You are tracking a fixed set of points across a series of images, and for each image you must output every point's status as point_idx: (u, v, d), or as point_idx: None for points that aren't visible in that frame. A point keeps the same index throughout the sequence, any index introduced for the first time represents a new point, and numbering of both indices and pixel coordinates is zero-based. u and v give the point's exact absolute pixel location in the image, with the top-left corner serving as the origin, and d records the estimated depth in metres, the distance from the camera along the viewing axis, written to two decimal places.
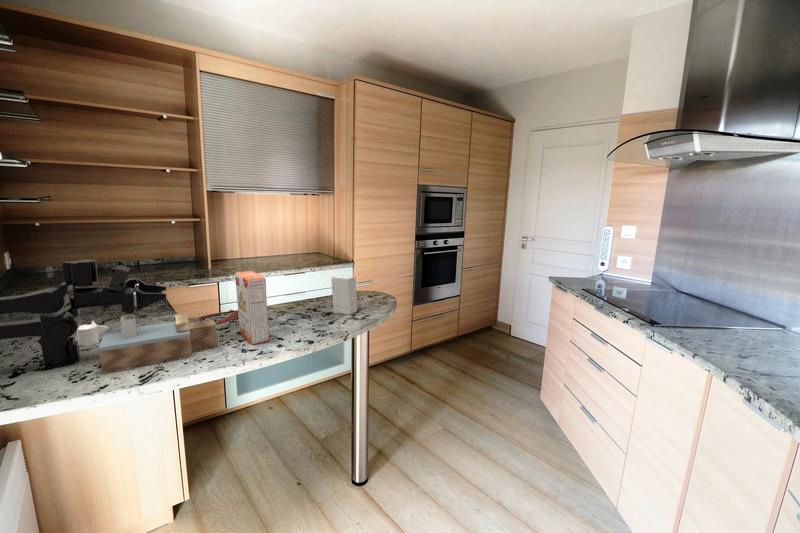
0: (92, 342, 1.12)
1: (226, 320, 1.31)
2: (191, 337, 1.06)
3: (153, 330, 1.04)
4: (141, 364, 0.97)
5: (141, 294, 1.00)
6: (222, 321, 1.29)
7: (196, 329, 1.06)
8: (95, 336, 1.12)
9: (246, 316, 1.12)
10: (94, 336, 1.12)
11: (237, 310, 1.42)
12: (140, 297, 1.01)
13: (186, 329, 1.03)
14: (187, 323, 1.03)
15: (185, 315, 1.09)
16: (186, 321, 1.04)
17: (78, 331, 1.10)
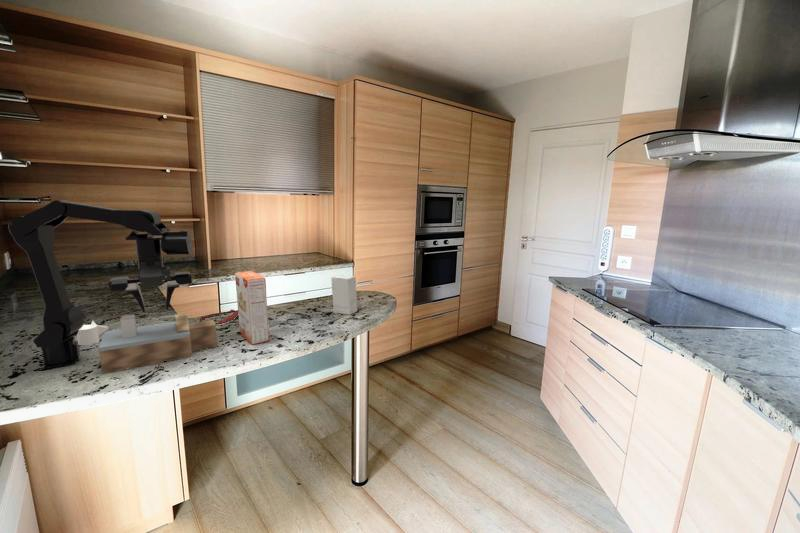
0: (92, 342, 1.12)
1: (227, 320, 1.31)
2: (191, 337, 1.06)
3: (153, 330, 1.04)
4: (141, 364, 0.97)
5: None
6: (223, 321, 1.29)
7: (196, 329, 1.06)
8: (95, 336, 1.12)
9: (246, 316, 1.12)
10: (94, 336, 1.12)
11: None
12: None
13: (186, 329, 1.03)
14: (187, 323, 1.03)
15: (185, 315, 1.09)
16: (186, 321, 1.04)
17: (78, 331, 1.10)
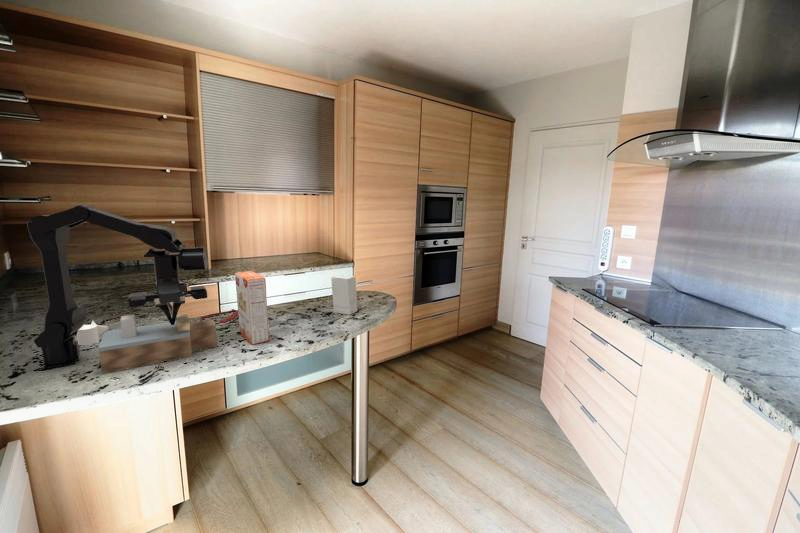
0: (92, 342, 1.12)
1: (228, 319, 1.31)
2: (191, 337, 1.06)
3: (153, 330, 1.04)
4: (141, 364, 0.97)
5: None
6: (224, 320, 1.30)
7: (196, 329, 1.06)
8: (95, 336, 1.12)
9: (246, 316, 1.12)
10: (94, 336, 1.12)
11: None
12: None
13: (187, 329, 1.03)
14: (188, 323, 1.03)
15: (186, 315, 1.09)
16: (187, 321, 1.04)
17: (78, 331, 1.10)
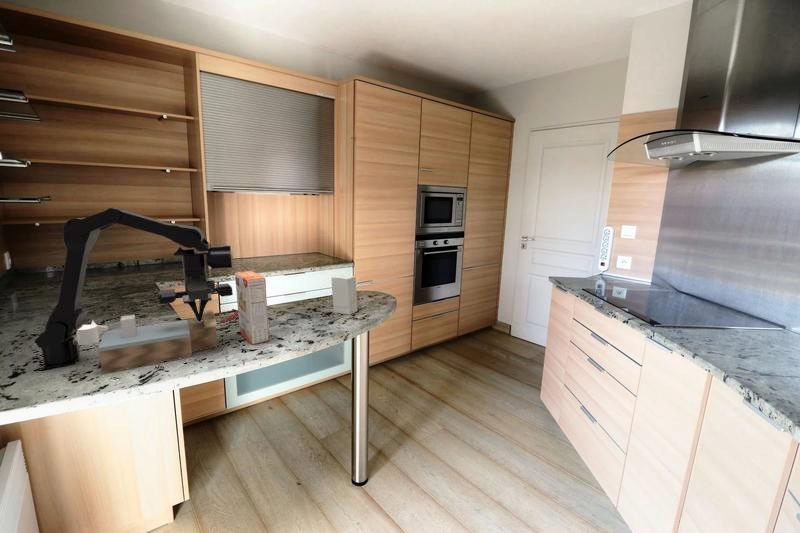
0: (92, 342, 1.12)
1: (228, 319, 1.31)
2: (191, 337, 1.06)
3: (153, 330, 1.04)
4: (141, 364, 0.97)
5: None
6: (224, 320, 1.30)
7: (196, 329, 1.06)
8: (95, 336, 1.12)
9: (246, 316, 1.12)
10: (94, 336, 1.12)
11: None
12: None
13: (214, 325, 1.07)
14: (214, 319, 1.07)
15: (211, 311, 1.13)
16: (213, 317, 1.08)
17: (78, 331, 1.10)
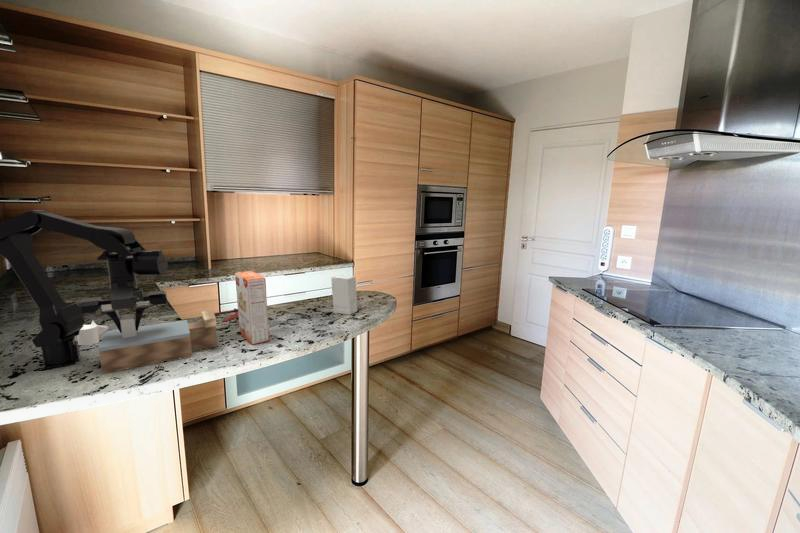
0: (92, 342, 1.12)
1: (230, 319, 1.32)
2: (191, 337, 1.06)
3: (153, 330, 1.04)
4: (141, 364, 0.97)
5: None
6: (226, 320, 1.31)
7: (196, 329, 1.06)
8: (95, 336, 1.12)
9: (246, 316, 1.12)
10: (94, 336, 1.12)
11: None
12: None
13: (214, 325, 1.07)
14: (215, 319, 1.07)
15: (211, 311, 1.13)
16: (213, 317, 1.08)
17: None
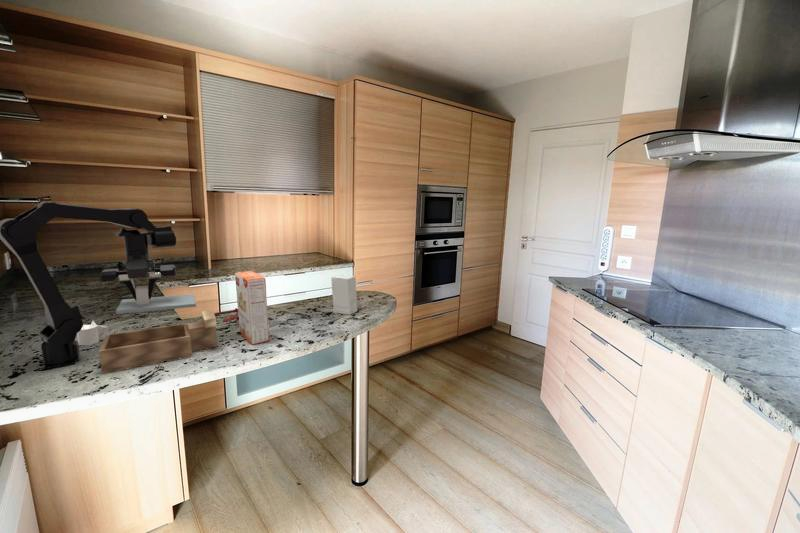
0: (92, 342, 1.12)
1: (231, 318, 1.32)
2: (191, 337, 1.06)
3: (164, 300, 1.17)
4: (141, 364, 0.97)
5: None
6: (227, 319, 1.31)
7: (196, 329, 1.06)
8: (95, 336, 1.12)
9: (246, 316, 1.12)
10: (94, 336, 1.12)
11: None
12: None
13: (214, 325, 1.07)
14: (215, 319, 1.07)
15: (211, 311, 1.13)
16: (213, 317, 1.08)
17: None
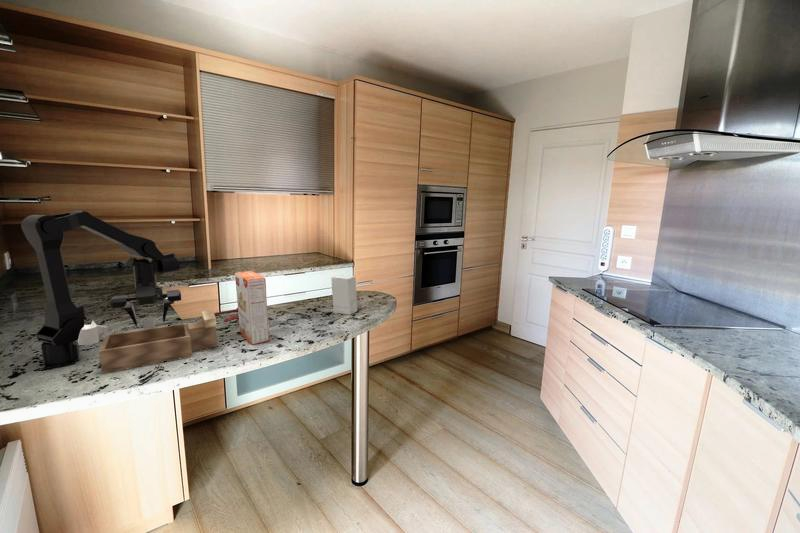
0: (92, 342, 1.12)
1: (232, 318, 1.33)
2: (191, 337, 1.06)
3: None
4: (141, 364, 0.97)
5: None
6: (229, 319, 1.32)
7: (196, 329, 1.06)
8: (95, 336, 1.12)
9: (246, 316, 1.12)
10: (94, 336, 1.12)
11: None
12: None
13: (214, 325, 1.07)
14: (215, 319, 1.07)
15: (211, 311, 1.13)
16: (213, 317, 1.08)
17: None
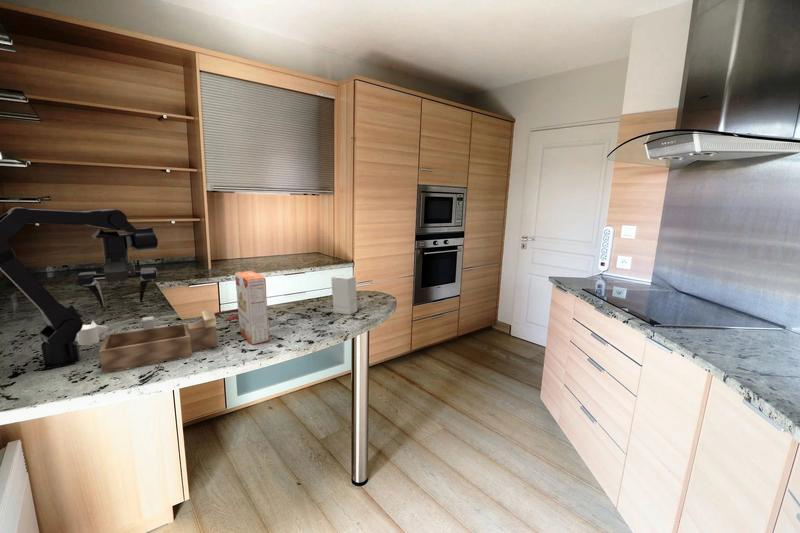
0: (92, 342, 1.12)
1: (234, 318, 1.34)
2: (191, 337, 1.06)
3: None
4: (141, 364, 0.97)
5: None
6: (230, 318, 1.32)
7: (196, 329, 1.06)
8: (95, 336, 1.12)
9: (246, 316, 1.12)
10: (94, 336, 1.12)
11: None
12: None
13: (214, 325, 1.07)
14: (215, 319, 1.07)
15: (211, 311, 1.13)
16: (213, 317, 1.08)
17: None
